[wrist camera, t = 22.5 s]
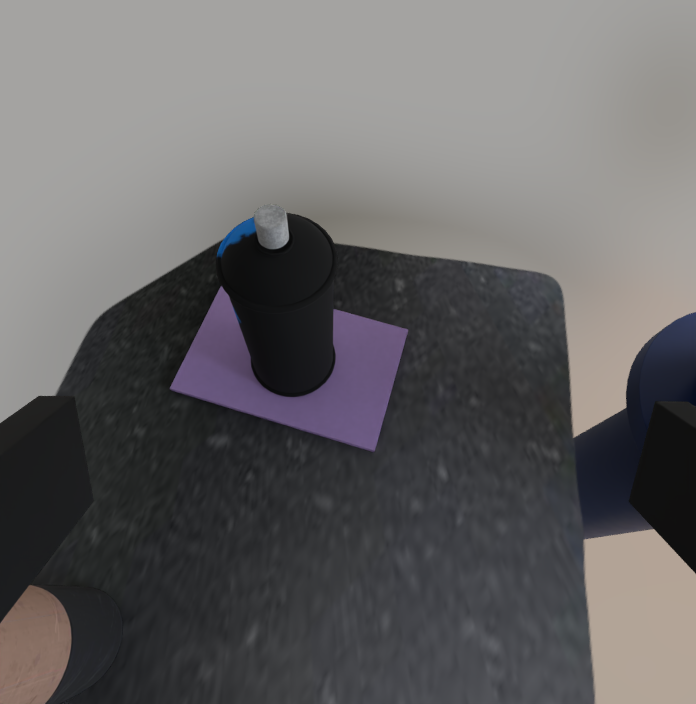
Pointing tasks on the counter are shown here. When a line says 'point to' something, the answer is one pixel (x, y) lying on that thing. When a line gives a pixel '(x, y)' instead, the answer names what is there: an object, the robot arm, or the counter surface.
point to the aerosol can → (282, 297)
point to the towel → (309, 410)
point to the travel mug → (57, 643)
